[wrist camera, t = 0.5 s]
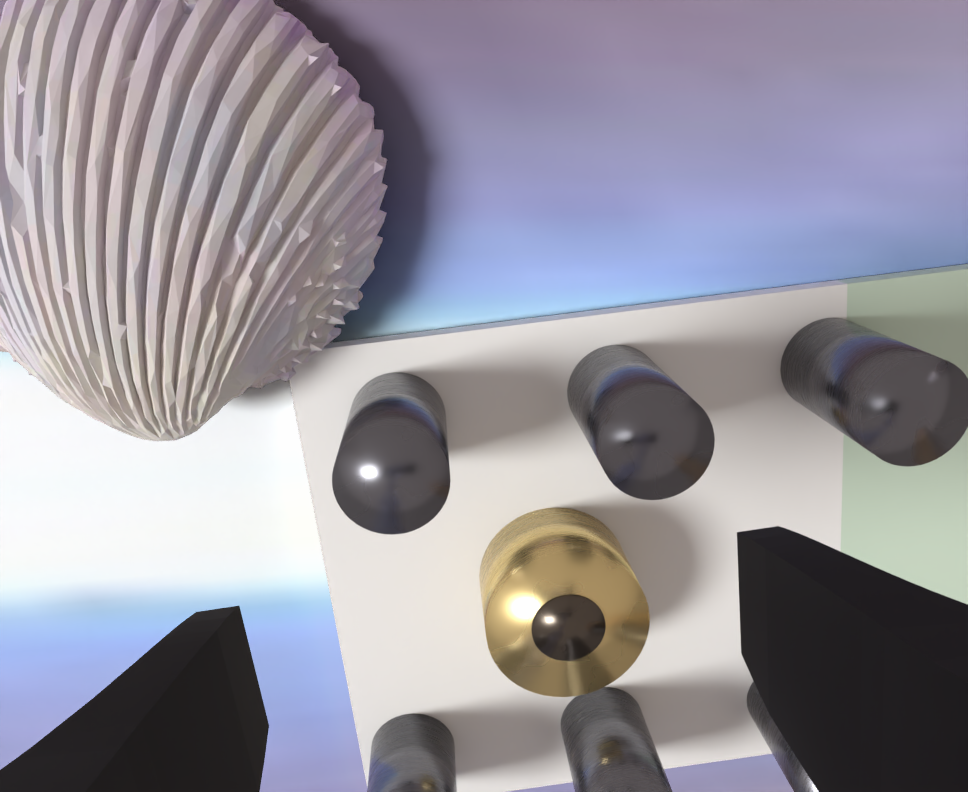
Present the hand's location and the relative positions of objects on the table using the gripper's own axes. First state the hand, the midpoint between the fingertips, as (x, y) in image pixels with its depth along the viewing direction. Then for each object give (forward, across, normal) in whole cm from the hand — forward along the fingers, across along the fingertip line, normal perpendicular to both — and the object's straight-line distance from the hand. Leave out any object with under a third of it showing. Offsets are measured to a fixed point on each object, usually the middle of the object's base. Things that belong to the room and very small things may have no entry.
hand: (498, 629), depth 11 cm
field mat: (+10, -6, +5) cm, 12 cm away
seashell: (+10, +6, -6) cm, 13 cm away
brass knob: (+9, -2, +5) cm, 11 cm away
